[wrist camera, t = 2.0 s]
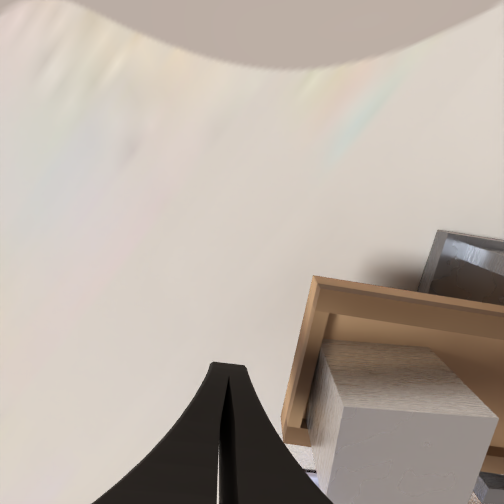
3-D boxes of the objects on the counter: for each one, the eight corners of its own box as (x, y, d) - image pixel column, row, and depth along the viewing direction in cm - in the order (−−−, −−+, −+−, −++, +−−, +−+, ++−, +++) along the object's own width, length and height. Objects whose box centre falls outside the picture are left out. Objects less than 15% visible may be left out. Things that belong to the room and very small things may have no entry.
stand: (456, 406, 23) (558, 517, 15) (381, 397, 22) (451, 508, 15) (523, 243, 19) (694, 287, 12) (437, 229, 19) (561, 266, 12)
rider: (407, 426, 14) (462, 518, 11) (305, 418, 14) (324, 508, 10) (428, 347, 13) (499, 418, 9) (317, 338, 13) (343, 406, 9)
